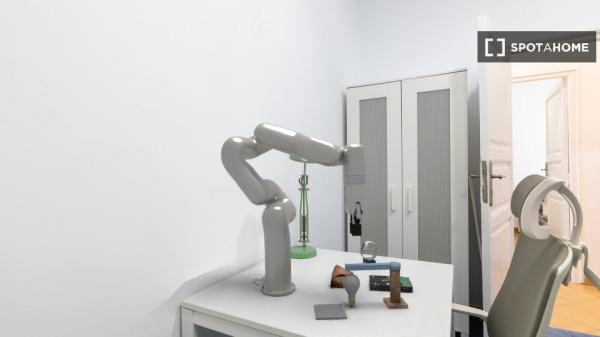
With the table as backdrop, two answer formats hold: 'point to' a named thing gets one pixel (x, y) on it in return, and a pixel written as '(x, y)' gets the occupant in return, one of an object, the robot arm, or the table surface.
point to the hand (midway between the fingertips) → (355, 234)
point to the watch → (364, 248)
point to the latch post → (395, 292)
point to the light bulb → (351, 287)
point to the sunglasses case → (338, 277)
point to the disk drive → (384, 283)
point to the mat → (329, 311)
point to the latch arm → (373, 266)
